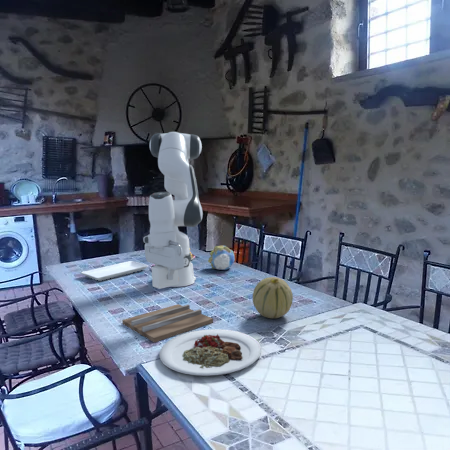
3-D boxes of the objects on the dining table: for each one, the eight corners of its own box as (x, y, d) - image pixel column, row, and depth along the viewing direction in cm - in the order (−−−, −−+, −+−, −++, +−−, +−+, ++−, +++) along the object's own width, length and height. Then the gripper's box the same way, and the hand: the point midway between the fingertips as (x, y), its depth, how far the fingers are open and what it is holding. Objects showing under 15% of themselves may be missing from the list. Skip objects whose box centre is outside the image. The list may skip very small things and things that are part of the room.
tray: (150, 270, 227) (149, 264, 227) (97, 284, 205) (96, 277, 204) (132, 266, 239) (131, 260, 238) (80, 278, 216) (79, 272, 216)
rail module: (152, 286, 147) (151, 266, 146) (173, 281, 153) (172, 262, 152) (159, 289, 144) (158, 269, 143) (180, 283, 149) (179, 264, 148)
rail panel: (122, 324, 151) (122, 316, 151) (178, 307, 166) (178, 300, 166) (154, 342, 134) (153, 333, 134) (213, 322, 150) (212, 314, 149)
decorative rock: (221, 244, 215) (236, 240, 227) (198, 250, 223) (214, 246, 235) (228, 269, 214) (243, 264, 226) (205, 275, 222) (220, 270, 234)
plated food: (188, 393, 105) (188, 380, 104) (144, 350, 130) (143, 339, 129) (282, 360, 120) (282, 349, 120) (226, 327, 145) (226, 318, 145)
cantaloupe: (270, 307, 164) (269, 269, 161) (301, 316, 153) (301, 276, 151) (244, 317, 153) (243, 277, 151) (275, 328, 143) (275, 285, 141)
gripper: (187, 241, 140) (189, 281, 142) (155, 235, 156) (158, 271, 157) (171, 244, 136) (174, 285, 138) (140, 237, 152) (143, 274, 153)
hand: (165, 278), depth 148 cm, fingers closed on rail module, 4 cm apart
